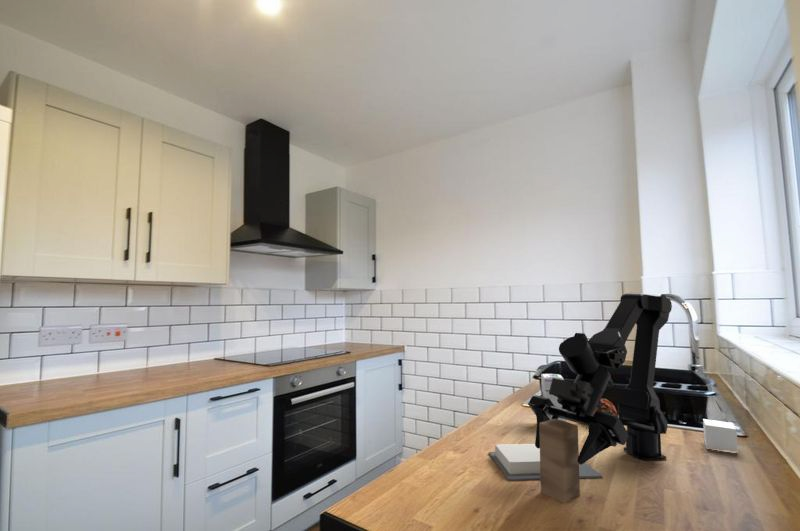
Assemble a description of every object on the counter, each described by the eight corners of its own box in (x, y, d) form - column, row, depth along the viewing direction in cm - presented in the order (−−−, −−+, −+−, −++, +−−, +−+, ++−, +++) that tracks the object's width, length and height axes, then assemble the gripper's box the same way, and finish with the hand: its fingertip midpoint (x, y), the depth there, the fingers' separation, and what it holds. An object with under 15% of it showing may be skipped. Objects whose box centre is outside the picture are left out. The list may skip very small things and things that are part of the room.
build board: (569, 451, 97) (569, 439, 97) (602, 477, 83) (602, 463, 83) (488, 453, 95) (488, 441, 95) (508, 480, 81) (508, 466, 81)
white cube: (704, 442, 103) (702, 418, 104) (734, 447, 100) (732, 422, 101) (706, 449, 98) (705, 424, 99) (738, 455, 95) (736, 429, 95)
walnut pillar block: (556, 485, 79) (554, 418, 80) (579, 495, 75) (577, 425, 76) (540, 492, 76) (539, 422, 78) (564, 503, 72) (562, 430, 73)
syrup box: (566, 429, 112) (565, 377, 114) (544, 428, 114) (543, 376, 115) (562, 423, 118) (561, 373, 119) (541, 422, 119) (540, 373, 120)
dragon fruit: (613, 438, 110) (588, 431, 121) (633, 418, 112) (607, 413, 123) (593, 413, 111) (570, 407, 122) (613, 393, 113) (589, 390, 124)
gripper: (532, 357, 88) (498, 416, 81) (617, 370, 73) (584, 445, 66) (555, 389, 92) (524, 448, 85) (640, 408, 76) (612, 482, 69)
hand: (556, 454), depth 76 cm, fingers open, 9 cm apart
